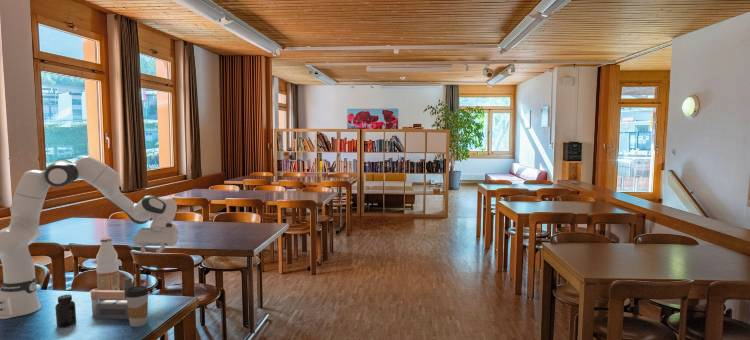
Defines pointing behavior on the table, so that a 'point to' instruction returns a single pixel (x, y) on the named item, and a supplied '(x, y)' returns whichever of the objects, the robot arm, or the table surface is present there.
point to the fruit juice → (107, 266)
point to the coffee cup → (137, 305)
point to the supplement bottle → (65, 311)
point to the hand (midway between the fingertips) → (150, 252)
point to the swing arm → (112, 292)
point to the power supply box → (110, 309)
